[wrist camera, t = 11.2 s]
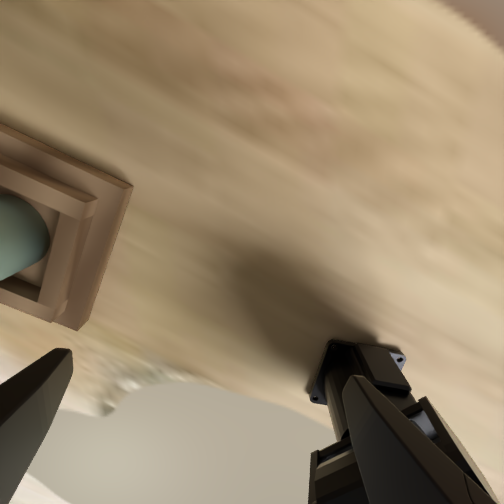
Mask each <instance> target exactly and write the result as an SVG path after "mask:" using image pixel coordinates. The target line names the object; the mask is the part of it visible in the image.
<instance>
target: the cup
mask: <svg viewBox="0 0 504 504" xmlns="http://www.w3.org/2000/svg"><path fill="white" fill-rule="evenodd" d="M49 243H50V238H49V232H48V229H47V226H46V224H45V222H44V220H43V218H42V217H41V215H40V214H39V213H38V212H37V211H36V210H35V209H34V208H33V207H32V206H31V205H30V204H28V203H27V202H25V201H24V200H22V199H20V198H18V197H15V196H12V195H7V194H0V281H1V280H3V279H5V278H7V277H9V276H11V275H13V274H15V273H17V272H19V271H21V270H23V269H25V268H27V267H29V266H31V265H33V264H35V263H37V262H39V261H40V260H41V259H42V258H43V257H44V256H45V255H46V253H47V251H48V248H49Z"/></svg>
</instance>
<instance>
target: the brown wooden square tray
mask: <svg viewBox="0 0 504 504" xmlns="http://www.w3.org/2000/svg"><path fill="white" fill-rule="evenodd" d="M132 190H133V186H131V185H129V184H127V183H125V182H123V181H121V180H119V179H117V178H114V177H112V176H110V175H108V174H106V173H104V172H102V171H100V170H98V169H96V168H93V167H91V166H89V165H87V164H85V163H83V162H81V161H79V160H77V159H75V158H72V157H70V156H68V155H66V154H64V153H62V152H60V151H58V150H56V149H54V148H51V147H49V146H47V145H45V144H43V143H41V142H39V141H37V140H35V139H33V138H30V137H28V136H26V135H24V134H22V133H20V132H18V131H16V130H14V129H12V128H10V127H7V126H5V125H3V124H1V123H0V194H7V195H12V196H15V197H18V198H20V199H22V200H24V201H25V202H27V203H28V204H30V205H31V206H32V207H33V208H34V209H35V210H36V211H37V212H38V213H39V214H40V215H41V217H42V218H43V220H44V222H45V224H46V226H47V229H48V232H49V238H50V243H49V248H48V251H47V253H46V255H45V256H44V257H43V258H42V259H41V260H40V261H39V262H37V263H35V264H33V265H31V266H29V267H27V268H25V269H23V270H21V271H19V272H17V273H15V274H13V275H11V276H9V277H7V278H5V279H3V280H1V281H0V303H2V304H4V305H7V306H9V307H12V308H14V309H17V310H19V311H22V312H24V313H27V314H29V315H32V316H35V317H37V318H40V319H42V320H45V321H47V322H50V323H51V322H55V323H58V324H60V325H63V326H65V327H68V328H70V329H73V330H75V331H78V330H79V329H80V328H81V327H82V326H83V325H84V324H85V323H86V322H87V321H88V319H89V316H90V313H91V310H92V307H93V304H94V301H95V298H96V295H97V292H98V290H99V287H100V284H101V281H102V278H103V275H104V272H105V269H106V266H107V263H108V260H109V257H110V254H111V251H112V248H113V245H114V243H115V240H116V237H117V234H118V231H119V228H120V225H121V222H122V219H123V216H124V213H125V210H126V207H127V204H128V201H129V198H130V195H131V193H132Z"/></svg>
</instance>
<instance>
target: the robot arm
mask: <svg viewBox="0 0 504 504" xmlns="http://www.w3.org/2000/svg"><path fill="white" fill-rule="evenodd" d="M333 345H336V346H335V347H332V346H333ZM399 357H400V358H399ZM397 358H399V359H397ZM405 361H406V357H405V356H404V354H403V353H402V352H399V351H394V350H388V349H386V348H382V347H376V346H371V345H365V344H360V343H357V344H356V343H351V342H345V341H340V340H330V341H328V343H327V345H326V348H325V351H324V354H323V356H322V359H321V362H320V365H319V368H318V371H317V374H316V376H315V379H314V382H313V385H312V388H311V391H310V393H309V398H310V401H311V402H313V403H317V404H323V405H328V409H329V413H330V416H331V420H332V424H333V428H334V432H335V436H336V439H337V442H336V443H334V444H332V445H330V446H328V447H326V448H324V449H322V450H320V451H319V450H316V451H314V452H312V453H311V462H310V480H309V497H308V504H500V503H499V501H498V499H497V497H496V496H495V494H494V492H493V491H492V489H491V487H490V485H489V484H488V482H487V480H486V478H485V477H484V475H483V474H482V472H481V471H480V470H479V468H478V467H477V465H476V464H475V462H474V461H473V459H472V458H471V456H470V455H469V454H468V452H467V451H466V449H465V448H464V446H463V445H462V443H461V442H460V441H459V439H458V438H457V436H456V435H455V434H454V432H453V431H452V430H451V429H450V427H449V426H448V425H447V423H446V422H445V421H444V419H443V418H442V417H441V415H440V414H439V413H438V411H437V410H436V409H435V408H434V406H433V405H432V404H431V402H430V401H429V400H428V398H427V397H426V396H425V397H423V398H421V399H419V400H418V401H419V402H416V401H415V399H414V397H413V396H412V394H411V390H412V389H411V387H410V385H409V383H408V382H407V380H406V379H405V377H404V375H403V374H402V372H401V370H402V368H403V366H404V364H405ZM72 374H73V358H72V351H71V350H70V349H65V348H55V349H53V350H52V351H50V352H49V353H47V354H46V355H44V356H43V357H41V358H40V359H38V360H37V361H35V362H34V363H32V364H31V365H29V366H28V367H26V368H25V369H23V370H22V371H20V372H19V373H17V374H16V375H14V376H13V377H11V378H10V379H8V380H7V381H5V382H4V383H2V384H1V385H0V504H9V502H10V500H11V498H12V496H13V494H14V493H15V491H16V489H17V487H18V485H19V483H20V482H21V480H22V478H23V476H24V474H25V473H26V471H27V469H28V467H29V465H30V463H31V461H32V460H33V458H34V456H35V454H36V453H37V451H38V449H39V447H40V445H41V443H42V442H43V440H44V438H45V436H46V434H47V432H48V430H49V428H50V426H51V424H52V421H53V419H54V417H55V414H56V412H57V410H58V407H59V405H60V403H61V400H62V398H63V396H64V393H65V391H66V388H67V386H68V384H69V381H70V379H71V377H72Z"/></svg>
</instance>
